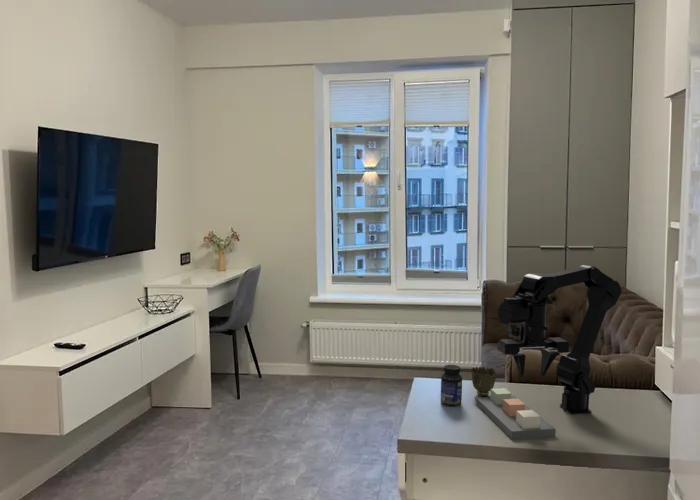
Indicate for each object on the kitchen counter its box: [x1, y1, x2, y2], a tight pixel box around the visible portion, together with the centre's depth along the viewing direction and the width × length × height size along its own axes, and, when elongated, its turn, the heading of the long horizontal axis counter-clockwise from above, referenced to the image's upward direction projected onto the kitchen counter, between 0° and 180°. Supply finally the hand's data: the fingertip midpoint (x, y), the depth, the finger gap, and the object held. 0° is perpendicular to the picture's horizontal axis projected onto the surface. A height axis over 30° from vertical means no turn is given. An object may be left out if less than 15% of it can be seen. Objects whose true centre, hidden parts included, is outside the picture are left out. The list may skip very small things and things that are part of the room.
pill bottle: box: [440, 364, 463, 408], centre depth 178 cm, size 6×6×11 cm
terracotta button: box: [502, 398, 526, 416], centre depth 167 cm, size 4×4×3 cm
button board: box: [475, 395, 556, 440], centre depth 167 cm, size 12×24×2 cm, turn 10°
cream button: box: [516, 409, 541, 429], centre depth 159 cm, size 4×4×3 cm
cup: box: [470, 366, 497, 398], centre depth 185 cm, size 8×7×8 cm
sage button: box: [489, 387, 512, 405], centre depth 175 cm, size 4×4×3 cm
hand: (531, 376), depth 167 cm, fingers open, 6 cm apart
